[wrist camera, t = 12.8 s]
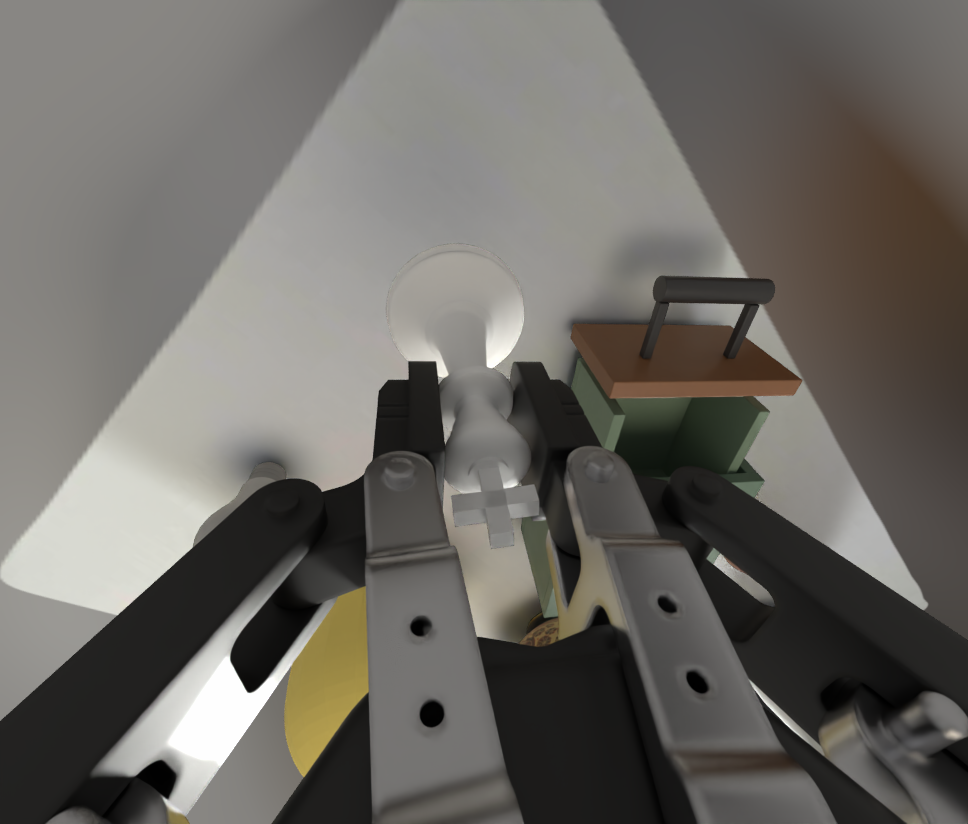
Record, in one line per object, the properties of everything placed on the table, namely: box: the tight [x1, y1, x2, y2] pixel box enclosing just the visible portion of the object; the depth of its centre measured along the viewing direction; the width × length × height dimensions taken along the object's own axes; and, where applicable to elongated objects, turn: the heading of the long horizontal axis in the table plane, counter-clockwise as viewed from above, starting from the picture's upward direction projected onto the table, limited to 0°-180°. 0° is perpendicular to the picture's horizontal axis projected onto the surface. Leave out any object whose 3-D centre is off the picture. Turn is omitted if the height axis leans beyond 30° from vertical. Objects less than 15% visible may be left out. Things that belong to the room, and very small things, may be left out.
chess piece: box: [386, 244, 539, 549], centre depth 12 cm, size 5×5×10 cm
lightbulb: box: [193, 462, 286, 547], centre depth 33 cm, size 6×6×11 cm
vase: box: [284, 586, 369, 777], centre depth 36 cm, size 16×16×28 cm
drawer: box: [571, 276, 802, 478], centre depth 33 cm, size 20×13×8 cm, turn 175°
